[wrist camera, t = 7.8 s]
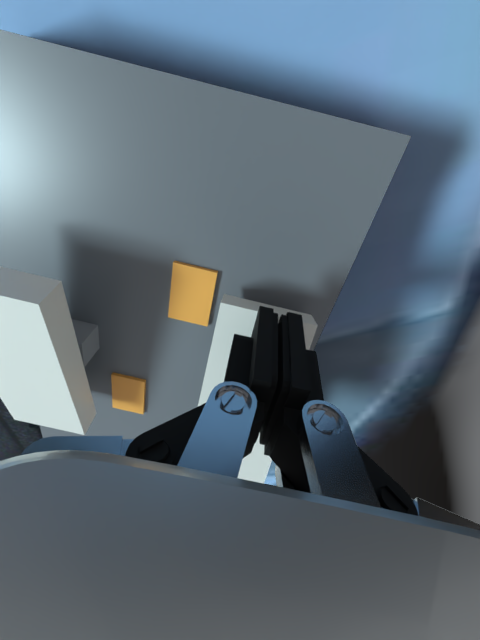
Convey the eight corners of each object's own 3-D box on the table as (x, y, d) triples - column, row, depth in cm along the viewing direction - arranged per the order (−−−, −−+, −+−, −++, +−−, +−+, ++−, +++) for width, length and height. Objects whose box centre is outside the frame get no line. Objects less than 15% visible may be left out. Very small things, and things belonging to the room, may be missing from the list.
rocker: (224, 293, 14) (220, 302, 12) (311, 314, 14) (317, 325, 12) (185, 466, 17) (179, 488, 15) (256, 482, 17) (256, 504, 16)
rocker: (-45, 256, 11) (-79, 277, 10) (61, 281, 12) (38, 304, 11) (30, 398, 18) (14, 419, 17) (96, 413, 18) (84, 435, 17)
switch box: (18, 37, 13) (-125, -5, 8) (379, 131, 14) (431, 139, 9) (73, 403, 27) (30, 464, 22) (253, 443, 27) (247, 511, 22)
